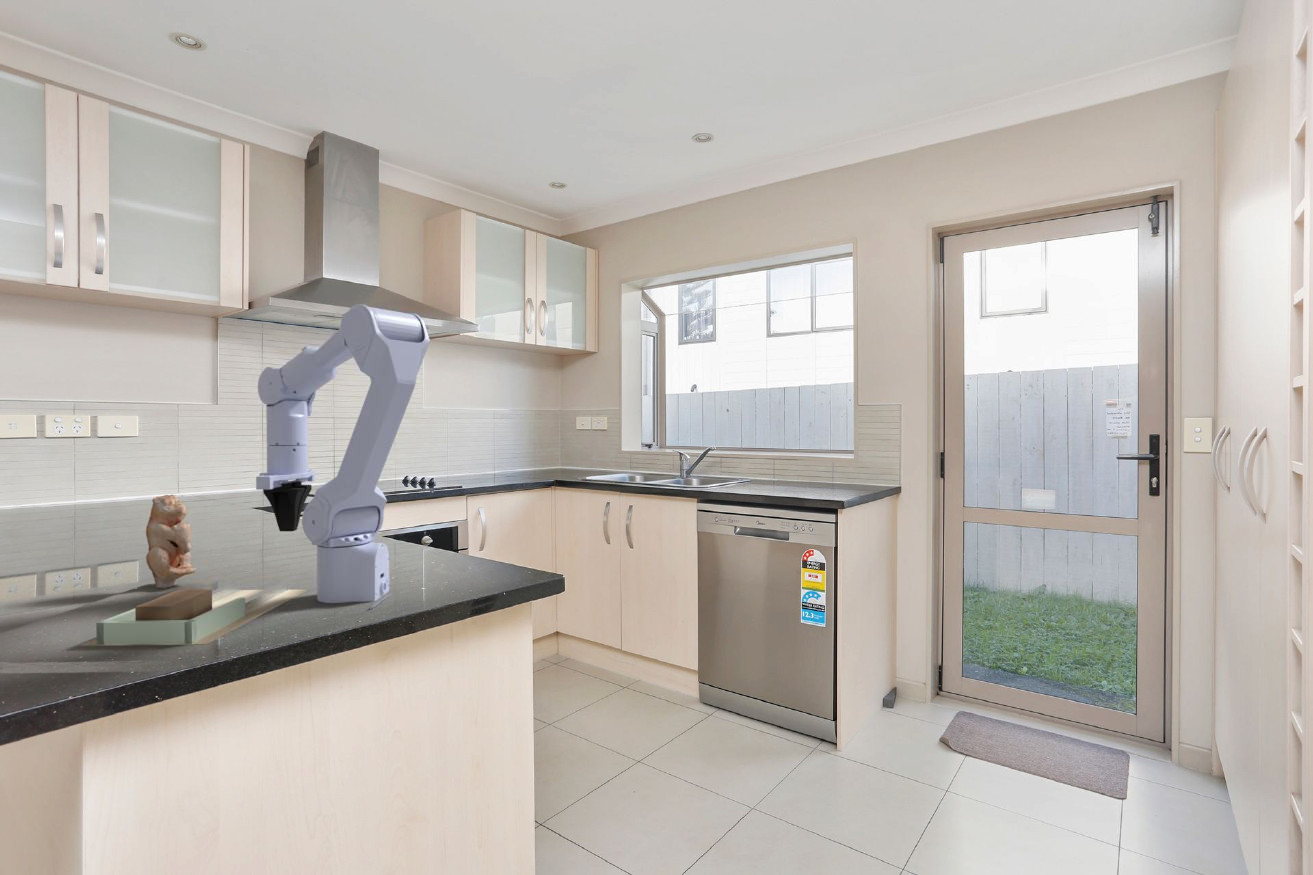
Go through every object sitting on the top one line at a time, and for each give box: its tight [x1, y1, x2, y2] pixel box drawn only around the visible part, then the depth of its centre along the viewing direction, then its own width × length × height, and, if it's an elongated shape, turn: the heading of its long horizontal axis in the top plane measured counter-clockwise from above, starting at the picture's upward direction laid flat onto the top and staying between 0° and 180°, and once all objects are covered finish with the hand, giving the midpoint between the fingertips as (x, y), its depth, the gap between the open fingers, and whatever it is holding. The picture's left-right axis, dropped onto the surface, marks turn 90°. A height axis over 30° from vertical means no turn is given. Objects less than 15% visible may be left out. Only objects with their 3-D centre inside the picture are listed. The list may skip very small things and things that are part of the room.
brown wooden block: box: [158, 588, 213, 618], centre depth 83 cm, size 4×4×4 cm
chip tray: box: [95, 597, 245, 646], centre depth 82 cm, size 11×11×2 cm
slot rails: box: [212, 581, 291, 612], centre depth 94 cm, size 8×13×1 cm, turn 3°
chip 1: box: [134, 597, 193, 621], centre depth 79 cm, size 4×4×4 cm
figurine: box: [145, 494, 197, 589], centre depth 104 cm, size 6×8×15 cm
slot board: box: [79, 589, 309, 647], centre depth 88 cm, size 14×25×1 cm, turn 3°
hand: (288, 530), depth 105 cm, fingers closed
